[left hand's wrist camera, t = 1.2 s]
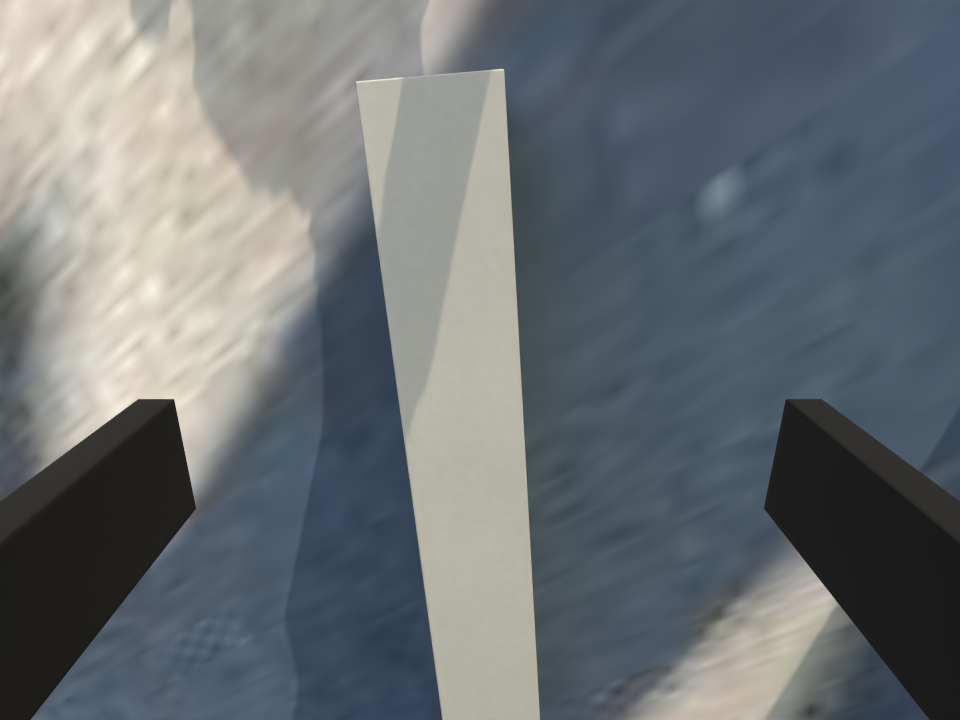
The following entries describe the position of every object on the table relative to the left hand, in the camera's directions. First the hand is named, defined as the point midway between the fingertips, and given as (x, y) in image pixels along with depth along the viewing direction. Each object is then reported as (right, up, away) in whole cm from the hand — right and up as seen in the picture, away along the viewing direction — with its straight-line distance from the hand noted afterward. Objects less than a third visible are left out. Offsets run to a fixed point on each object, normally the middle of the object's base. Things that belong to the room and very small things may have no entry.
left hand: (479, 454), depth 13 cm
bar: (+1, -22, +27) cm, 35 cm away
